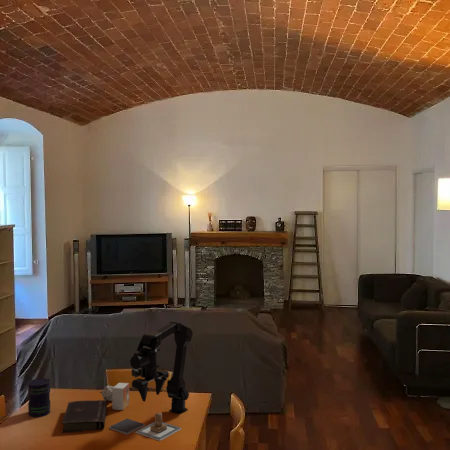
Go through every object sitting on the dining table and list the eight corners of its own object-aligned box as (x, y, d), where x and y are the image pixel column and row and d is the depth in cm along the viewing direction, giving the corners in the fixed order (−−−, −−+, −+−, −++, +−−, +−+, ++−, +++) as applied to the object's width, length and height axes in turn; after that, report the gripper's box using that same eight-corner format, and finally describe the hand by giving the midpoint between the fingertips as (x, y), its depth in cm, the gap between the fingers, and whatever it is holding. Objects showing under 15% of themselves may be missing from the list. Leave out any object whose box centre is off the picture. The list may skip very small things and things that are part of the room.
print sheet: (157, 421, 237) (157, 420, 237) (181, 429, 229) (181, 427, 229) (135, 432, 226) (135, 431, 226) (160, 441, 218) (160, 439, 218)
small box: (123, 410, 250) (123, 388, 250) (112, 409, 251) (111, 387, 251) (129, 404, 258) (129, 383, 257) (118, 403, 259) (118, 382, 258)
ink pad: (126, 419, 239) (126, 417, 239) (144, 425, 233) (144, 423, 233) (108, 428, 230) (108, 426, 230) (126, 434, 224) (126, 432, 224)
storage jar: (28, 418, 240) (28, 386, 240) (27, 411, 249) (27, 379, 249) (51, 415, 244) (51, 383, 244) (49, 407, 253) (49, 377, 253)
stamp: (158, 426, 231) (158, 411, 231) (166, 429, 228) (166, 413, 228) (150, 430, 227) (150, 414, 227) (159, 433, 224) (159, 417, 224)
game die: (113, 407, 263) (125, 391, 264) (104, 407, 255) (117, 390, 256) (101, 396, 267) (114, 379, 268) (93, 395, 259) (105, 378, 260)
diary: (107, 409, 253) (107, 399, 253) (104, 431, 229) (104, 420, 228) (66, 411, 250) (66, 401, 250) (59, 434, 225) (59, 422, 225)
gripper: (150, 354, 243) (150, 388, 243) (121, 365, 227) (122, 401, 228) (169, 358, 237) (169, 392, 238) (141, 370, 221) (142, 406, 222)
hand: (150, 398), depth 231 cm, fingers open, 9 cm apart
